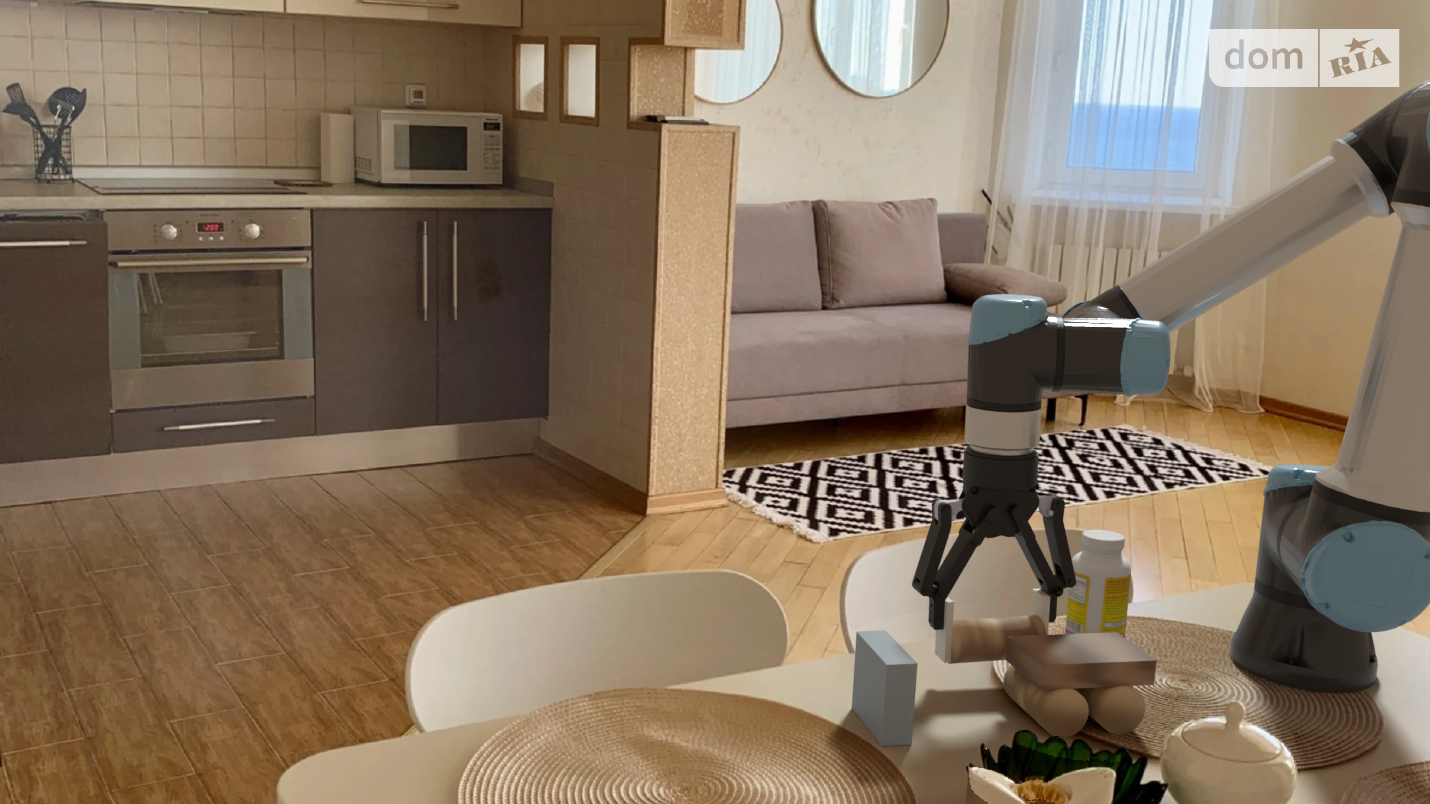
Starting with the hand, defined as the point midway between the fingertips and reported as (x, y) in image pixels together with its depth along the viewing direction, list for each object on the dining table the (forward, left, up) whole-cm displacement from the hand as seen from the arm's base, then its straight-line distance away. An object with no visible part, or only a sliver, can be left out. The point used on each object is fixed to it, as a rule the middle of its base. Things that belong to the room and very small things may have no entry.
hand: (990, 654), depth 147 cm
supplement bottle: (-17, -10, -3) cm, 20 cm away
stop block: (+15, +9, -3) cm, 18 cm away
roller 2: (-1, +9, -3) cm, 10 cm away
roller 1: (0, 0, 0) cm, 0 cm away
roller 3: (-7, +9, -3) cm, 12 cm away
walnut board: (-5, +9, +1) cm, 11 cm away
